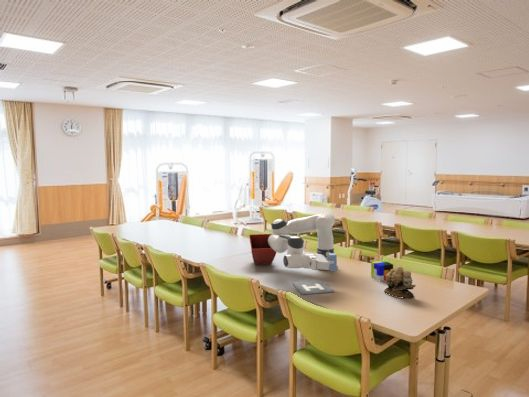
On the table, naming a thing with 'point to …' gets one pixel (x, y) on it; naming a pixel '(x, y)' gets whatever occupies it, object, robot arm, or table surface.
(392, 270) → the owl figurine
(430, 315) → the table surface
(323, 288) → the letter board
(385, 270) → the puzzle toy
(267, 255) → the plant pot
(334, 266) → the blue block
